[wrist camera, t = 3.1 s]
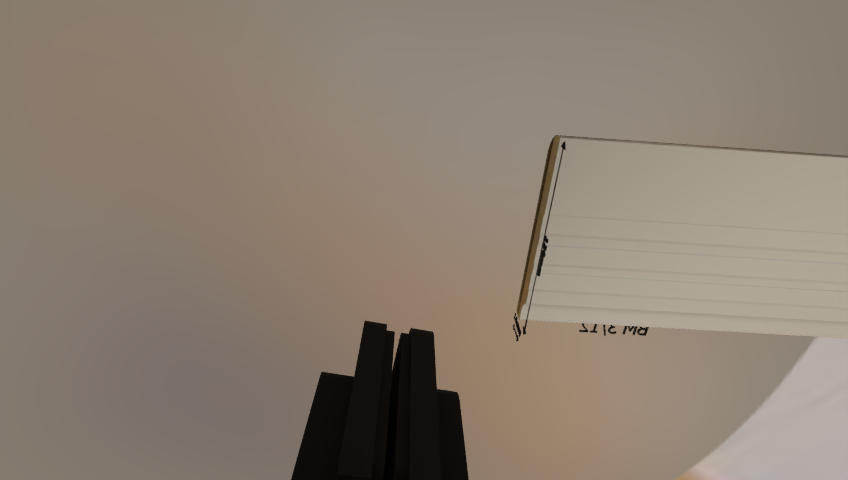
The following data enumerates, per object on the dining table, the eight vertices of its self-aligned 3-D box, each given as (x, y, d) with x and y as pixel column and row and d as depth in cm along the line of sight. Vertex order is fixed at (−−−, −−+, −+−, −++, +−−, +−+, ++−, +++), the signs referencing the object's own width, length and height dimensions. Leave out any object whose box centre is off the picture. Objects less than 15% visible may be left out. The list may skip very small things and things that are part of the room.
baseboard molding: (1002, 357, 28) (1156, 172, 22) (1062, 392, 25) (1254, 192, 20) (510, 329, 27) (549, 129, 21) (520, 363, 24) (567, 144, 19)
